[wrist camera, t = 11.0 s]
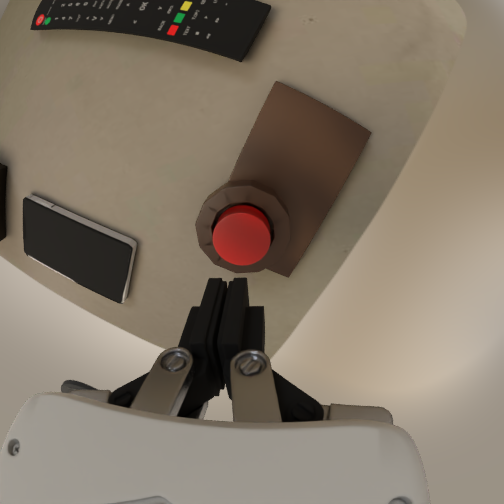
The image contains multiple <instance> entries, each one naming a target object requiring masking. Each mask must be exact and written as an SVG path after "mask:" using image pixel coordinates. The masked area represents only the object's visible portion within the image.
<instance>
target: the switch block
mask: <svg viewBox="0 0 504 504" xmlns="http://www.w3.org/2000/svg"><path fill="white" fill-rule="evenodd" d="M370 135H371V132H370V131H368V130H367V129H365V128H364V127H362V126H361V125H359V124H357V123H356V122H354V121H352V120H351V119H349V118H347V117H346V116H344V115H342V114H341V113H339V112H337V111H335V110H334V109H332V108H330V107H328V106H326V105H324V104H323V103H321V102H319V101H317V100H315V99H313V98H311V97H309V96H307V95H305V94H303V93H301V92H299V91H297V90H295V89H293V88H291V87H288V86H286V85H284V84H282V83H280V82H277V81H275V83H274V85H273V87H272V89H271V91H270V93H269V95H268V97H267V99H266V101H265V103H264V105H263V107H262V109H261V111H260V113H259V115H258V118H257V120H256V122H255V124H254V126H253V128H252V130H251V132H250V134H249V136H248V139H247V141H246V143H245V145H244V147H243V149H242V151H241V154H240V156H239V158H238V160H237V162H236V165H235V167H234V169H233V171H232V174H231V176H230V178H229V180H228V182H227V183H225V184H224V185H223V186H221V187H220V188H219V189H217V190H216V191H214V192H213V193H212V194H210V195H209V196H208V197H207V199H206V200H205V202H204V203H203V206H202V208H201V211H200V213H199V216H198V218H197V221H196V225H195V226H196V231H197V236H198V241H199V246H200V248H201V249H202V250H203V251H204V253H205V254H206V255H207V256H208V257H209V258H210V260H211V261H212V262H213V263H214V264H215V265H217V266H220V267H222V268H225V269H227V270H230V271H232V272H234V273H248V272H259V271H262V270H263V269H265V268H266V269H269V270H271V271H274V272H276V273H278V274H281V275H283V276H286V277H289V276H290V275H291V273H292V271H293V270H294V268H295V266H296V265H297V263H298V262H299V260H300V258H301V257H302V255H303V253H304V252H305V250H306V248H307V247H308V245H309V243H310V242H311V240H312V238H313V237H314V235H315V233H316V232H317V230H318V228H319V227H320V225H321V223H322V221H323V220H324V218H325V216H326V215H327V213H328V211H329V209H330V208H331V206H332V204H333V202H334V201H335V199H336V197H337V195H338V194H339V192H340V190H341V188H342V187H343V185H344V183H345V181H346V179H347V178H348V176H349V174H350V172H351V170H352V168H353V167H354V165H355V163H356V161H357V159H358V157H359V156H360V154H361V152H362V150H363V148H364V146H365V144H366V142H367V141H368V139H369V137H370ZM237 205H248V206H252V207H254V208H256V209H258V210H260V211H261V212H262V213H263V214H264V215H265V216H266V218H267V220H268V222H269V225H270V237H271V242H270V247H269V250H268V252H267V253H266V255H265V256H264V257H263V258H262V259H261V260H259V261H257V262H256V263H253V264H250V265H235V264H232V263H229V262H227V261H226V260H224V259H223V258H222V257H221V256H220V255H219V254H218V253H217V251H216V250H215V247H214V244H213V231H214V229H215V226H216V224H217V222H218V219H219V218H220V216H221V215H222V214H223V212H225V211H226V210H227V209H229V208H231V207H233V206H237Z"/></svg>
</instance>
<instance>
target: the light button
mask: <svg viewBox="0 0 504 504" xmlns="http://www.w3.org/2000/svg"><path fill="white" fill-rule="evenodd" d="M270 242H271V237H270V225H269V222H268V220H267V218H266V216H265V215H264V214H263V213H262V212H261V211H260V210H258V209H256V208H254V207H252V206H248V205H237V206H233V207H231V208H229V209H227V210H226V211H225V212H223V214H222V215H221V216H220V218H219V219H218V222H217V224H216V226H215V229H214V231H213V244H214V247H215V250H216V251H217V253H218V254H219V255H220V256H221V257H222V258H223V259H224V260H226V261H227V262H229V263H232V264H235V265H250V264H253V263H256V262H257V261H259V260H261V259H262V258H263V257H264V256H265V255H266V253H267V252H268V250H269V247H270Z"/></svg>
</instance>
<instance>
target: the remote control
mask: <svg viewBox="0 0 504 504" xmlns="http://www.w3.org/2000/svg"><path fill="white" fill-rule="evenodd" d="M270 9H271V5H268V4H265V3H262V2H259V1H256V0H42V1H41V3H40V5H39V6H38V8H37V11H36V13H35V15H34V18H33V21H32V25H31V29H30V30H49V29H76V30H96V31H107V32H117V33H125V34H132V35H138V36H144V37H150V38H155V39H160V40H165V41H170V42H174V43H178V44H183V45H187V46H191V47H194V48H198V49H202V50H205V51H208V52H212V53H215V54H218V55H221V56H225V57H228V58H231V59H233V60H236V61H239V62H242V60H243V59H244V57H245V56H246V54H247V53H248V51H249V49H250V47H251V46H252V44H253V42H254V40H255V38H256V37H257V35H258V33H259V31H260V29H261V27H262V26H263V24H264V22H265V20H266V18H267V16H268V14H269V12H270Z"/></svg>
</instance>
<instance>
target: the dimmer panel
mask: <svg viewBox="0 0 504 504" xmlns="http://www.w3.org/2000/svg"><path fill="white" fill-rule="evenodd" d="M6 176H7V166H5V165H3V164H1V163H0V241H1V240H3V239H4V238H5V237H6V225H5V195H6Z"/></svg>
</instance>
